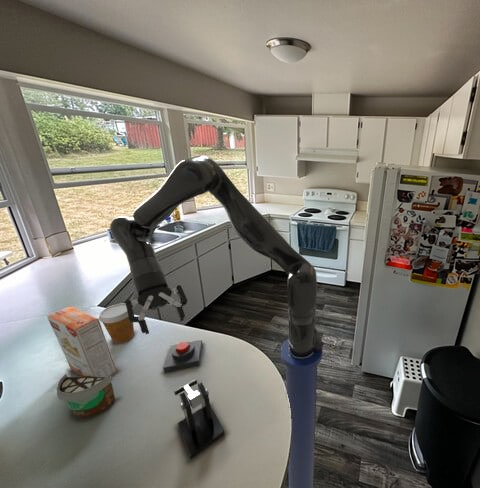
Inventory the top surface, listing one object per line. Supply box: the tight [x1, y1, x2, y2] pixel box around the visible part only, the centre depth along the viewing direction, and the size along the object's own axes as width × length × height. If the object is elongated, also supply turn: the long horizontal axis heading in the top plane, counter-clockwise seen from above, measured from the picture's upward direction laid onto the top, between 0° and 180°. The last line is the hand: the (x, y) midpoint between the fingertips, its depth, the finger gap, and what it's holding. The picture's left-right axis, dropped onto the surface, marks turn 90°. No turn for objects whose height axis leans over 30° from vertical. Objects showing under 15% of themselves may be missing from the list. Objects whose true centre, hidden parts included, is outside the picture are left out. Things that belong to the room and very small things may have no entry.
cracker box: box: [47, 305, 118, 377], centre depth 75 cm, size 14×6×21 cm, turn 67°
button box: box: [163, 339, 204, 374], centre depth 84 cm, size 10×10×4 cm
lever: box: [173, 379, 203, 410], centre depth 63 cm, size 12×6×2 cm, turn 43°
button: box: [176, 341, 189, 353], centre depth 83 cm, size 4×4×2 cm
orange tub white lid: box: [98, 302, 135, 344], centre depth 91 cm, size 10×10×12 cm
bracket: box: [177, 381, 226, 460], centre depth 61 cm, size 10×8×13 cm
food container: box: [56, 373, 116, 420], centre depth 65 cm, size 12×6×10 cm, turn 92°
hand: (165, 326), depth 70 cm, fingers open, 8 cm apart
